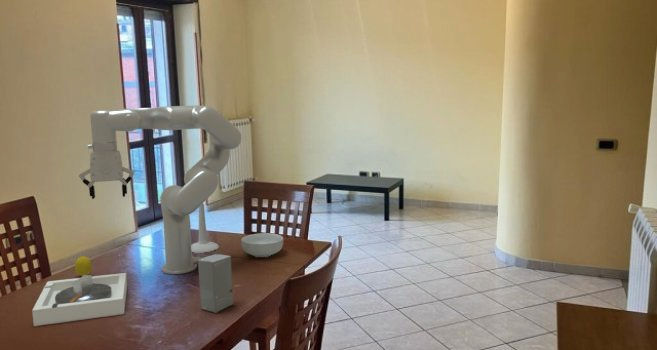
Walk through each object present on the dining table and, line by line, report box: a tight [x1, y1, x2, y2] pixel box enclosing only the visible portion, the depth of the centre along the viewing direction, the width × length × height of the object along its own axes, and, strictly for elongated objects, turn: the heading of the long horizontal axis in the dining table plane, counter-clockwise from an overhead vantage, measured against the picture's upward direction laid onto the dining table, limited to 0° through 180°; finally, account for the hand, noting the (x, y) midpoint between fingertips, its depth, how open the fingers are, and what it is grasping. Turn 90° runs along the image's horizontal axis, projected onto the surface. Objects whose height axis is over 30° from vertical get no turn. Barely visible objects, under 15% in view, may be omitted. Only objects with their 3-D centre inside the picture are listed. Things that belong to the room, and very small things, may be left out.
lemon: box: [74, 255, 92, 277], centre depth 187 cm, size 6×6×8 cm
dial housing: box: [31, 272, 128, 327], centre depth 163 cm, size 24×24×5 cm
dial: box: [55, 274, 112, 304], centre depth 163 cm, size 16×16×6 cm
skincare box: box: [197, 253, 234, 314], centre depth 160 cm, size 8×7×16 cm
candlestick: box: [191, 203, 220, 254], centre depth 218 cm, size 13×13×30 cm
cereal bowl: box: [240, 232, 284, 258], centre depth 211 cm, size 17×17×7 cm
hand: (108, 197), depth 178 cm, fingers open, 9 cm apart
